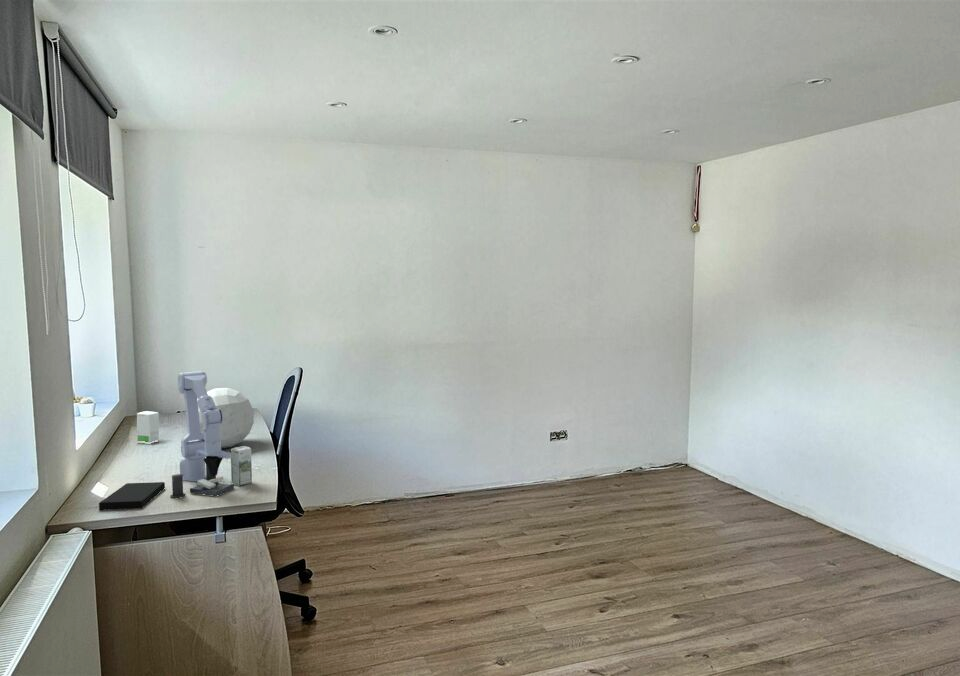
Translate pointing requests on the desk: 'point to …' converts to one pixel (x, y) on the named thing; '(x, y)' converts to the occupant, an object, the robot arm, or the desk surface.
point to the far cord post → (208, 476)
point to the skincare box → (147, 426)
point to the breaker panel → (212, 489)
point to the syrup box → (241, 465)
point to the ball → (231, 415)
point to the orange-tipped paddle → (216, 479)
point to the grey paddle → (206, 483)
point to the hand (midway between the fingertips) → (213, 475)
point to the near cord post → (177, 486)
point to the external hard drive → (132, 496)
